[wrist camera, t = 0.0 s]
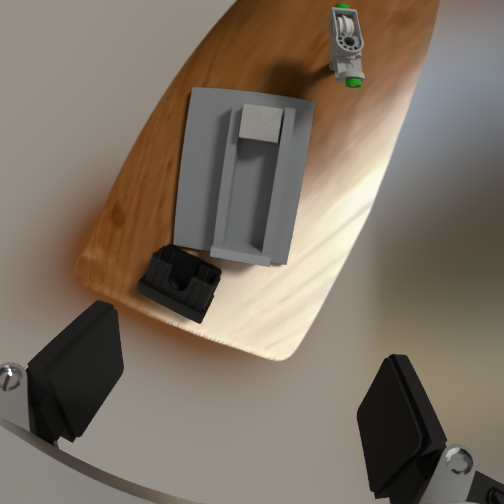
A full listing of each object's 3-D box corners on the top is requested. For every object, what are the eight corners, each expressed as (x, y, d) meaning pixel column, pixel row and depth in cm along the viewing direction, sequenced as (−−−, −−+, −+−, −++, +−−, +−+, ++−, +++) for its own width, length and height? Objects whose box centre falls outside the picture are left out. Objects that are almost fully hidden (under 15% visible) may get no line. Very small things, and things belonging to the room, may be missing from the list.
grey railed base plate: (195, 89, 34) (182, 80, 30) (314, 103, 34) (319, 95, 29) (176, 242, 41) (162, 253, 37) (286, 261, 41) (286, 276, 36)
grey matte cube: (247, 109, 34) (243, 103, 30) (282, 114, 33) (282, 108, 30) (243, 139, 35) (238, 136, 31) (277, 144, 35) (277, 142, 31)
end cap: (151, 279, 44) (132, 299, 38) (165, 241, 42) (146, 255, 35) (208, 308, 44) (196, 332, 38) (226, 271, 42) (216, 291, 36)
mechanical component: (326, 101, 33) (341, 82, 24) (319, 35, 30) (329, 1, 21) (348, 102, 33) (369, 84, 24) (340, 36, 30) (356, 4, 20)
